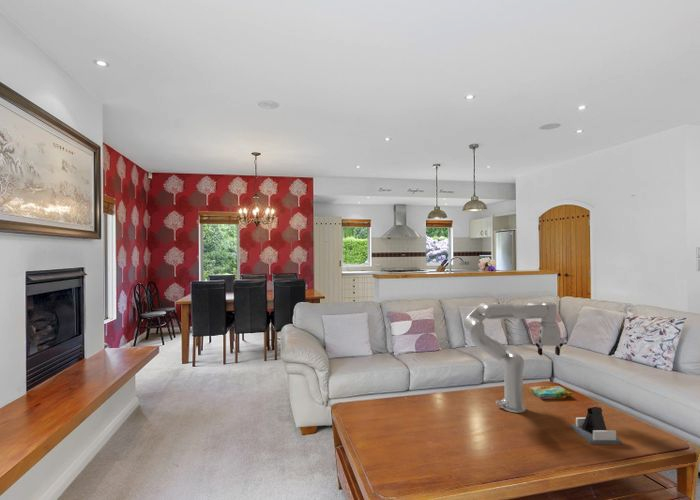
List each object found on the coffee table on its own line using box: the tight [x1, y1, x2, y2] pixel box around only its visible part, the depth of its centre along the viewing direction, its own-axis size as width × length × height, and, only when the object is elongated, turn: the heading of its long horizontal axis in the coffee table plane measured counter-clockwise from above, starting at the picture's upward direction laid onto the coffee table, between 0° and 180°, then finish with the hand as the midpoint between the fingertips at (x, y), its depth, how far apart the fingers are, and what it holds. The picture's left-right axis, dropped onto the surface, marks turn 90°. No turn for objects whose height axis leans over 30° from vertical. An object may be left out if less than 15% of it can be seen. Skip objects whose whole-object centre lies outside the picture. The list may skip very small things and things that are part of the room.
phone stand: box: [582, 405, 607, 434], centre depth 181 cm, size 9×6×12 cm, turn 18°
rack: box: [570, 417, 622, 445], centre depth 181 cm, size 14×16×6 cm
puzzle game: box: [529, 385, 573, 400], centre depth 230 cm, size 12×5×20 cm
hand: (548, 354), depth 212 cm, fingers open, 9 cm apart
